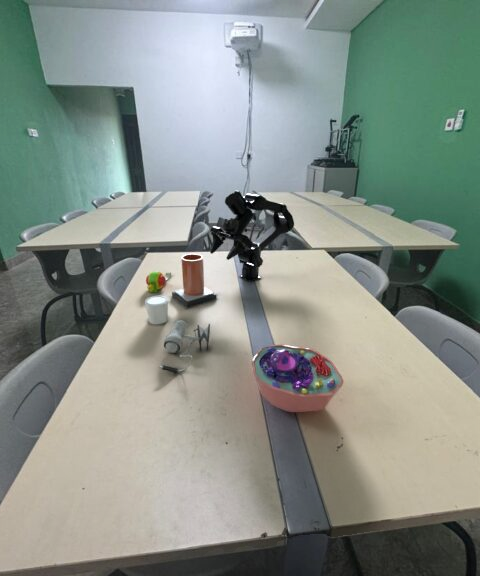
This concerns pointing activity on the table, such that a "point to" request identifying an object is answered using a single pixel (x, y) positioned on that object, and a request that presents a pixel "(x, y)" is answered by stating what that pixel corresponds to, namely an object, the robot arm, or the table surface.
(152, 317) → the white cylinder
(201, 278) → the cup
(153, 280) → the toy measuring tape
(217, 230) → the robot arm
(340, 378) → the cell model
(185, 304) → the scale
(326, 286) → the table surface
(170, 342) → the clip-on lamp
